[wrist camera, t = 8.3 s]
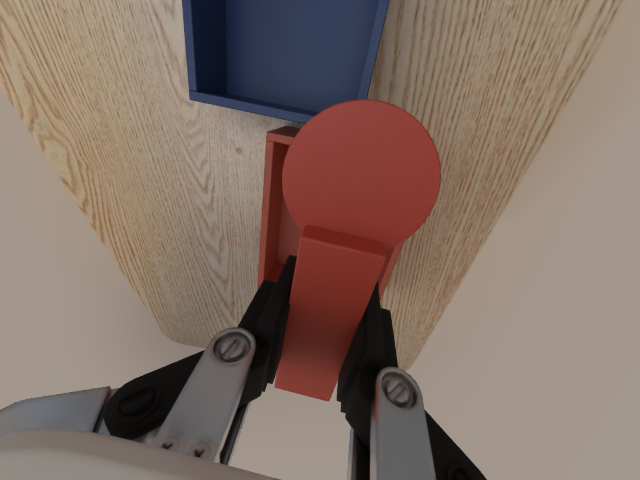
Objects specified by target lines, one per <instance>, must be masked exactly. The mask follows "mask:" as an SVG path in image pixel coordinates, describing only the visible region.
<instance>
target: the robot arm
mask: <svg viewBox="0 0 640 480" xmlns="http://www.w3.org/2000/svg"><path fill="white" fill-rule="evenodd" d="M296 260H297V256H293V255H289V256H288V258H287V261H286V263H285V265H284V267H283V269H282V271H281V273H280V275H279V278H278V280H277V282H274V281H270V280H266V279H264V280H263V282H262V283H261V285H260V287H259V289H258V291H257V292H256V294H255V296H254V298H253V300H252V302H251V303H250V305H249V307H248V309H247V311H246V313H245V314H244V316H243V318H242V320H241V322H240V324H239V325H238V327H233V328H227V329H225V330H222V331H220V332H219V333H217V334H216V335H215V336H214V337H213V338H212V340H211V341H210V342H209V344H208V346H207V348H206V349H205V350H204V351H201V352H199V353H196V354H194V355H191V356H189V357H187V358H184V359H182V360H179V361H177V362H174V363H172V364H169V365H167V366H165V367H162V368H160V369H157V370H155V371H152V372H150V373H148V374H145V375H143V376H140V377H138V378H135V379H134V380H132V381H130V382H128V383H126V384H125V385H123V386H122V387H121V388H117V389H111V388H110V386H108V387H102V388H95V389H89V390H82V391H76V392H70V393H63V394H56V395H50V396H43V397H37V398H30V399H26V400H22V401H18V402H15V403H13V404H11V405H9V406H7V407H5V408H3V409H1V410H0V480H279V479H276V478H272V477H268V476H264V475H260V474H257V473H254V472H250V471H246V470H243V469H239V468H235V467H231V466H230V463H231V460H232V457H233V454H234V451H235V448H236V445H237V442H238V438H239V435H240V432H241V429H242V426H243V423H244V420H245V417H246V414H247V411H248V408H249V405H250V402H251V401H252V400H254V399H256V398H258V397H259V396H260V395H261V393H262V391H263V392H264V391H265V389H266V386H267V383H271V384H272V383H273V381H274V378H275V375H276V372H277V369H278V366H279V362H280V359H281V353H282V348H283V342H284V337H285V331H286V326H287V320H288V314H289V309H290V304H289V300H290V294H291V289H292V283H293V277H294V271H295V266H296ZM337 401H339V402H341V412H343V413H346V416H345V417H346V420H347V421H348V422H349V424H350V426H351V429H350V443H349V457H348V471H347V480H487V479H486V478H485V477H484V475H483V474H482V473H481V471H480V470H479V469H478V468H477V467H476V466H475V465H474V464H473V462H472V461H471V460H470V459H469V458H468V457H467V456H466V455H465V454H464V453H463V451H462V450H461V449H460V448H459V447H458V446H457V445H456V444H455V443H454V442H453V440H452V439H451V438H450V437H449V436H448V435H447V434H446V433H445V432H444V430H443V429H442V428H441V427H440V426H439V425H438V424H437V423H436V422H435V421H434V419H433V418H432V417H431V416H430V415H429V414H428V413H427V412H426V411H425V410H424V404H423V398H422V394H421V391H420V388H419V386H418V385H417V383H416V381H415V380H414V379H413V378H412V377H411V376H410V375H409V374H408V373H406V372H405V371H404V370H401V369H399V368H398V363H397V356H396V348H395V341H394V334H393V327H392V320H391V313H390V311H389V310H386V309H382V308H380V297H379V286H378V280H377V282H376V285H375V287H374V290H373V292H372V295H371V297H370V300H369V302H368V305H367V307H366V310H365V312H364V315H363V317H362V320H361V322H359V324H358V327H357V329H356V332H355V334H354V337H353V339H352V342H351V344H350V347H349V350H348V352H347V355H346V357H345V360H344V362H343V365H342V367H341V370H340V372H339V375H338V387H337Z"/></svg>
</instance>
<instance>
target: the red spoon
mask: <svg viewBox="0 0 640 480" xmlns="http://www.w3.org/2000/svg"><path fill="white" fill-rule="evenodd" d="M440 180H441V168H440V161H439V156H438V152H437V149H436V147H435V144H434V142H433V140H432V138H431V136H430V135H429V133H428V132H427V130H426V129H425V128H424V126H423V125H422V124H421V123H420V122H419V121H418V120H417V119H416V118H415V117H414V116H412V115H411V114H409V113H408V112H406V111H405V110H403V109H401V108H399V107H397V106H395V105H393V104H389V103H386V102H383V101H377V100H370V99H361V100H351V101H345V102H342V103H339V104H336V105H333V106H331V107H329V108H327V109H325V110H323V111H321V112H320V113H318V114H317V115H315V116H314V117H313V118H311V119H310V120H309V121H308V122H307V123H306V124H305V125H304V126H303V127H302V128H301V129H300V131H299V132H298V133H297V135H296V136H295V138H294V139H293V141H292V142H291V145H290V147H289V149H288V151H287V154H286V157H285V160H284V165H283V171H282V187H283V194H284V198H285V202H286V205H287V208H288V210H289V212H290V214H291V216H292V218H293V219H294V221H295V222H296V224H297V225H298V226H299V227H300V228H301V230H302V231H303V233H302V235H301V237H300V243H299V248H298V254H297V260H296V266H295V271H294V277H293V283H292V289H291V294H290V300H289V304H290V309H289V314H288V320H287V326H286V331H285V337H284V342H283V348H282V353H281V359H280V362H279V366H278V369H277V375H276V381H275V388H278V389H282V390H286V391H290V392H294V393H298V394H302V395H306V396H309V397H313V398H317V399H321V400H324V401H329V400H330V398H331V396H332V393H333V391H334V388H335V386H336V383H337V380H338V375H339V372H340V370H341V367H342V365H343V362H344V360H345V357H346V355H347V352H348V350H349V347H350V344H351V342H352V339H353V337H354V334H355V332H356V329H357V327H358V324H359V322H361V320H362V317H363V315H364V312H365V310H366V307H367V305H368V302H369V300H370V297H371V295H372V292H373V290H374V287H375V285H376V282H377V280H378V277H379V275H380V272H381V270H382V267H383V264H384V262H385V259H386V255H385V250H386V249H389V248H391V247H394V246H396V245H398V244H399V243H401V242H403V241H404V240H406V239H407V238H409V237H410V236H411V235H412V234H413V233H415V232H416V231H417V230H418V229H419V228H420V226H421V225H422V224H423V223H424V222H425V220H426V219H427V217H428V216H429V214H430V212H431V211H432V209H433V207H434V204H435V202H436V199H437V197H438V192H439V188H440Z"/></svg>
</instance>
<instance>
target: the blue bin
mask: <svg viewBox="0 0 640 480" xmlns="http://www.w3.org/2000/svg"><path fill="white" fill-rule="evenodd" d="M389 1H390V0H182V7H183V20H184V32H185V45H186V57H187V70H188V82H189V96H190V100H193V101H198V102H203V103H208V104H212V105H217V106H222V107H227V108H232V109H236V110H241V111H246V112H251V113H256V114H261V115H265V116H270V117H275V118H280V119H285V120H289V121H294V122H299V123H304V124H306V123H307V122H308V121H309V120H310V119H311V118H313V117H314V116H315V115H317V114H318V113H320V112H321V111H323V110H325V109H327V108H329V107H331V106H333V105H336V104H339V103H342V102H345V101H351V100H361V99H367V95H368V90H369V86H370V82H371V77H372V73H373V69H374V65H375V60H376V56H377V52H378V48H379V43H380V39H381V35H382V30H383V26H384V22H385V18H386V13H387V9H388V5H389Z"/></svg>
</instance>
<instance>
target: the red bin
mask: <svg viewBox="0 0 640 480" xmlns="http://www.w3.org/2000/svg"><path fill="white" fill-rule="evenodd" d="M299 131H300V129H298V128H293V127H288V126H284V127H281V128H278V129H275V130H271V131H268V132H267V138H266V140H267V141H266V154H265V171H264V187H263V204H262V220H261V237H260V253H259V270H258V286H257V289H259V287H260V285H261V283H262V282H263V280H264V279H266V280H270V281H274V282H277V280H278V278H279V275H280V273H281V271H282V269H283V267H284V265H285V263H286V261H287V258H288V256H289V255H293V256H297V254H298V248H299V243H300V237H301V235H302V233H303V231H302V230H301V228H300V227H299V226H298V225H297V224H296V222H295V221H294V219H293V218H292V216H291V214H290V212H289V210H288V208H287V205H286V202H285V198H284V194H283V187H282V171H283V165H284V160H285V157H286V154H287V151H288V149H289V147H290V145H291V142H292V141H293V139H294V138H295V136H296V135H297V133H298V132H299ZM404 241H405V240H404ZM404 241H403V242H401V243H399V244H398V245H396V246H394V247H391V248H389V249H386V250H385V255H386V259H385V262H384V264H383V267H382V270H381V272H380V275H379V277H378V286H379V297H380V301H381V298H382V296H383V293H384V291H385V288H386V286H387V283H388V281H389V278H390V276H391V273H392V271H393V268H394V266H395V263H396V261H397V258H398V256H399V253H400V251H401V249H402V246H403V244H404Z"/></svg>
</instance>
